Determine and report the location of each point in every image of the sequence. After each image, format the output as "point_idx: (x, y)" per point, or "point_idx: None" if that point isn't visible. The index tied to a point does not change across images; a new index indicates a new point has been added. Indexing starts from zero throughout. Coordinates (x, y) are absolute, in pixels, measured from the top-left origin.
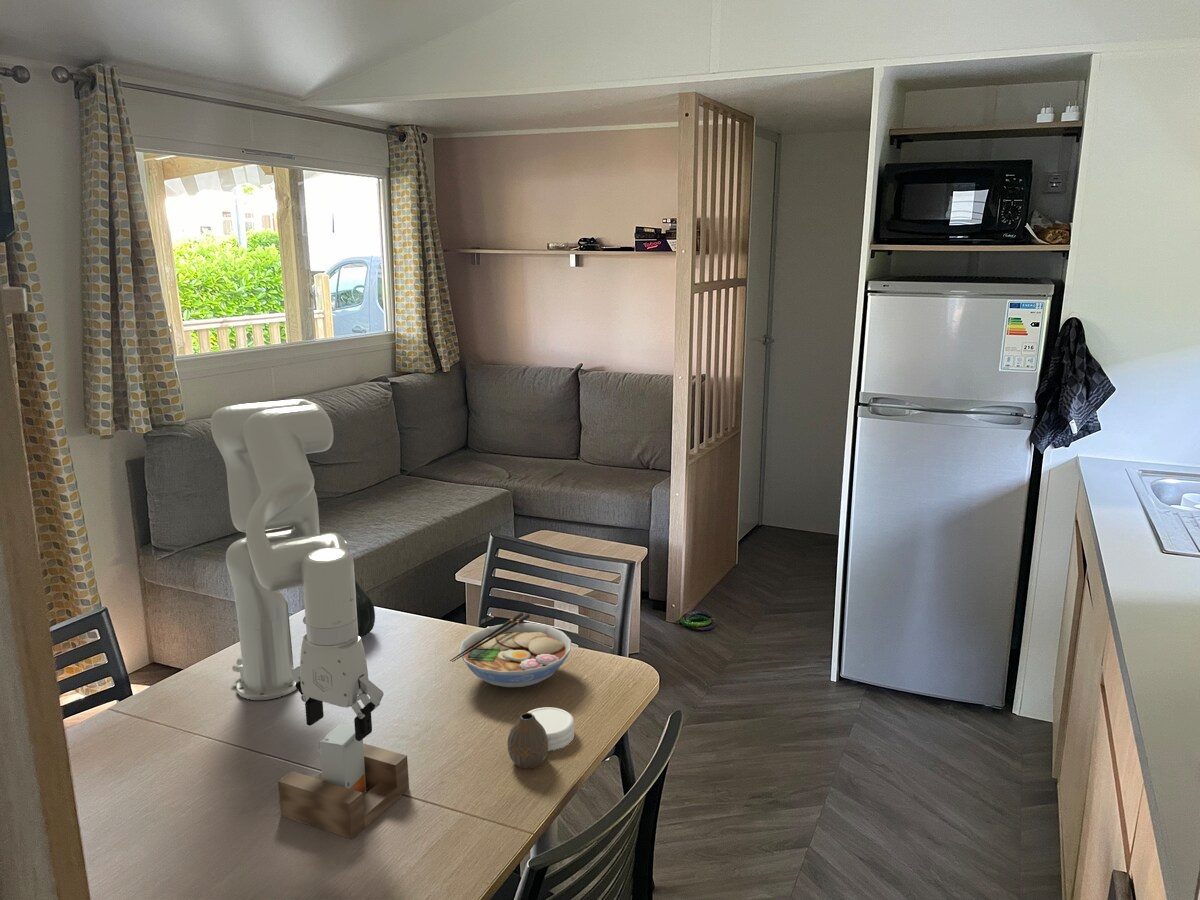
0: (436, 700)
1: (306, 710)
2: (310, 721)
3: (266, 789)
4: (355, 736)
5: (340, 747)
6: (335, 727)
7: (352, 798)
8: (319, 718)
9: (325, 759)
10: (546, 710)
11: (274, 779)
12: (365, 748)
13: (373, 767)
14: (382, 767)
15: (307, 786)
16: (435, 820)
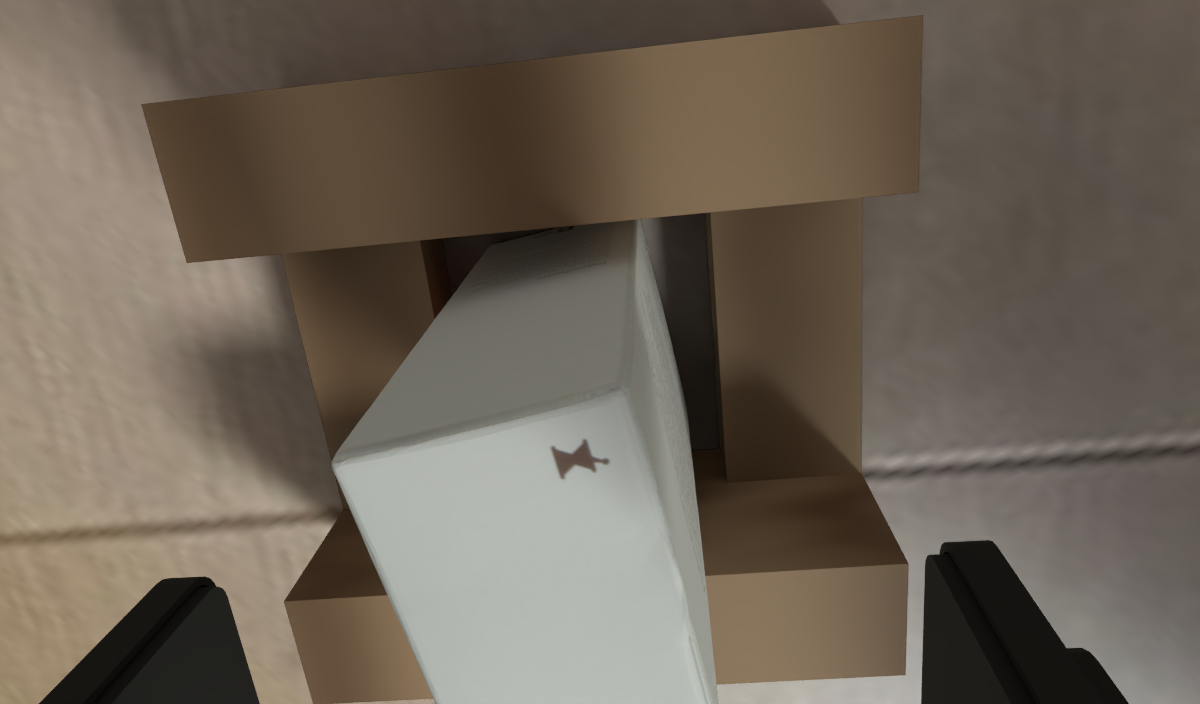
0: None
1: (1078, 700)
2: (947, 585)
3: (1137, 172)
4: (192, 606)
5: (358, 437)
6: (700, 667)
7: (183, 170)
8: (928, 694)
9: (574, 327)
10: None
11: (1161, 272)
12: None
13: None
14: None
15: (618, 96)
16: (69, 433)
